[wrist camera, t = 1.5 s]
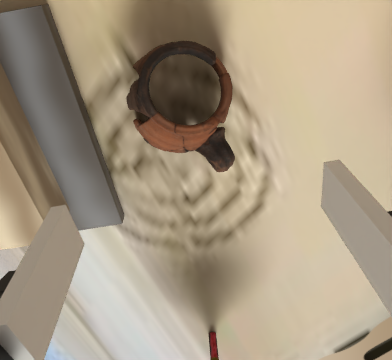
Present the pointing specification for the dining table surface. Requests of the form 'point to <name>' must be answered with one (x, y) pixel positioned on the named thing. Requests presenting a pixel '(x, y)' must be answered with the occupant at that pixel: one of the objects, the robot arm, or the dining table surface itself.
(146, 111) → the pottery mug
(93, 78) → the dining table surface
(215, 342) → the lantern
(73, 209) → the build base
